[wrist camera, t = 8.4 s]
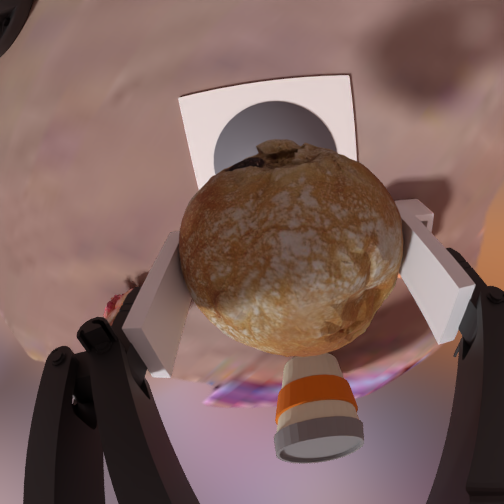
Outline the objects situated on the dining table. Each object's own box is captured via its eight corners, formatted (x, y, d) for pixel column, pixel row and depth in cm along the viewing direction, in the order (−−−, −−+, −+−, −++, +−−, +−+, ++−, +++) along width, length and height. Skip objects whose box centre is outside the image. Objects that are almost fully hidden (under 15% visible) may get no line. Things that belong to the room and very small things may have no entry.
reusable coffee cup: (354, 375, 45) (370, 450, 33) (287, 394, 48) (291, 468, 36) (339, 333, 40) (360, 425, 27) (259, 357, 43) (258, 447, 30)
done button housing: (360, 258, 33) (370, 279, 29) (361, 203, 29) (373, 220, 26) (411, 251, 32) (424, 269, 29) (417, 198, 28) (434, 213, 25)
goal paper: (213, 243, 32) (212, 244, 32) (179, 97, 24) (177, 98, 24) (357, 225, 30) (358, 226, 30) (348, 75, 22) (349, 75, 22)
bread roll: (340, 129, 15) (356, 67, 7) (409, 291, 15) (465, 352, 8) (192, 202, 18) (106, 204, 10) (262, 349, 18) (225, 432, 10)
